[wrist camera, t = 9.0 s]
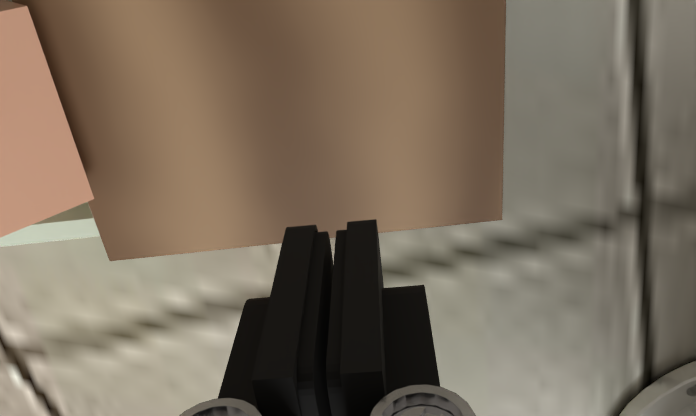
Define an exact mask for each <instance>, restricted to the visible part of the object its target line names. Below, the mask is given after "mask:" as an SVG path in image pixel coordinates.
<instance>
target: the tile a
mask: <svg viewBox="0 0 696 416" xmlns="http://www.w3.org/2000/svg"><path fill="white" fill-rule="evenodd" d="M93 199H94V196H93V194H92V191H91V188H90V185H89V182H88V179H87V176H86V173H85V171H84V168H83V165H82V162H81V159H80V156H79V153H78V150H77V148H76V145H75V142H74V139H73V136H72V133H71V130H70V128H69V125H68V122H67V119H66V116H65V113H64V110H63V107H62V105H61V102H60V99H59V96H58V93H57V90H56V87H55V84H54V82H53V79H52V76H51V73H50V70H49V67H48V64H47V61H46V59H45V56H44V53H43V50H42V47H41V44H40V41H39V38H38V36H37V33H36V30H35V27H34V24H33V21H32V18H31V15H30V13H29V10H28V7H27V6H26V5H22V4H18V3H15V2H11V1H7V0H0V238H1V237H3V236H5V235H8V234H10V233H13V232H15V231H18V230H20V229H22V228H25V227H27V226H30V225H32V224H35V223H37V222H39V221H42V220H44V219H47V218H49V217H52V216H54V215H56V214H59V213H61V212H64V211H66V210H69V209H71V208H73V207H76V206H78V205H81V204H83V203H86V202H88V201H90V200H93Z"/></svg>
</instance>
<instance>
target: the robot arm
mask: <svg viewBox="0 0 696 416" xmlns="http://www.w3.org/2000/svg"><path fill="white" fill-rule="evenodd" d="M180 416H476V415H475V413H474V412H473V410H472V409H471V407H470V406H469V404H468V403H467V402H466V401H465V400H464V399H462V398H461V397H460V396H459V395H457V394H456V393H454V392H452V391H449V390H447V389H445V388H442V387H440V382H439V376H438V370H437V363H436V357H435V350H434V344H433V337H432V331H431V324H430V318H429V312H428V305H427V299H426V292H425V287H424V285H418V286H405V287H393V288H384V286H383V276H382V266H381V257H380V247H379V237H378V228H377V220H376V219H373V220H362V221H351V222H347V230H337V231H336V241H335V254H334V266H333V259H332V252H331V245H330V239H329V234H328V231H324V232H318V229H317V226H316V225H305V226H294V227H286V229H285V234H284V238H283V242H282V247H281V251H280V256H279V260H278V264H277V269H276V273H275V278H274V282H273V286H272V291H271V295H270V297H267V298H255V299H248V300H247V301H246V303H245V305H244V308H243V312H242V315H241V319H240V322H239V326H238V329H237V333H236V336H235V340H234V343H233V347H232V350H231V354H230V357H229V361H228V364H227V368H226V371H225V375H224V379H223V382H222V386H221V389H220V393H219V396H218V399H213V400H209V401H206V402H203V403H199V404H197V405H196V406H194V407H192V408H190V409H188V410H186V411H184V412H183V413H182V414H181V415H180ZM619 416H696V361H694V362H691V363H688V364H686V365H684V366H682V367H680V368H678V369H676V370H674V371H672V372H670V373H668V374H666V375H664V376H662V377H661V378H659V379H658V380H656V381H655V382H654V383H652V384H651V385H649V386H648V387H646V388H645V389H644V390H642V391H641V392H640V393H639V394H638V395H637V396H636V397H635V398H634V399H633V400H631V401H630V402H629V403H628V405H627V406H626V407H625V408H624V410H623V411H622V412H621V414H620V415H619Z"/></svg>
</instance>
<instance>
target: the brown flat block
mask: <svg viewBox="0 0 696 416" xmlns="http://www.w3.org/2000/svg"><path fill="white" fill-rule="evenodd" d="M12 2H15V3H18V4H22V5H26V6H27V7H28V10H29V13H30V15H31V18H32V21H33V24H34V27H35V30H36V33H37V36H38V38H39V41H40V44H41V47H42V50H43V53H44V56H45V59H46V61H47V64H48V67H49V70H50V73H51V76H52V79H53V82H54V84H55V87H56V90H57V93H58V96H59V99H60V102H61V105H62V107H63V110H64V113H65V116H66V119H67V122H68V125H69V128H70V130H71V133H72V136H73V139H74V142H75V145H76V148H77V150H78V153H79V156H80V159H81V162H82V165H83V168H84V171H85V173H86V176H87V179H88V182H89V185H90V188H91V191H92V194H93V196H94V199H93V200H90V201H88V205H89V207H90V210H91V212H92V215H93V218H94V220H95V223H96V226H97V228H98V231H99V234H100V236H101V239H102V242H103V244H104V247H105V250H106V252H107V255H108V258H109V260H110V261H116V260H125V259H135V258H144V257H154V256H163V255H173V254H182V253H192V252H201V251H211V250H220V249H230V248H239V247H249V246H258V245H268V244H277V243H282V242H283V238H284V234H285V229H286V227H294V226H305V225H316V226H317V229H318V232H324V231H328V234H329V238H334V237H336V231H337V230H347V222H351V221H362V220H373V219H376V220H377V228H378V233H382V232H391V231H401V230H410V229H419V228H429V227H438V226H448V225H457V224H467V223H476V222H486V221H495V220H502V198H503V140H504V83H505V25H506V0H12Z"/></svg>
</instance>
